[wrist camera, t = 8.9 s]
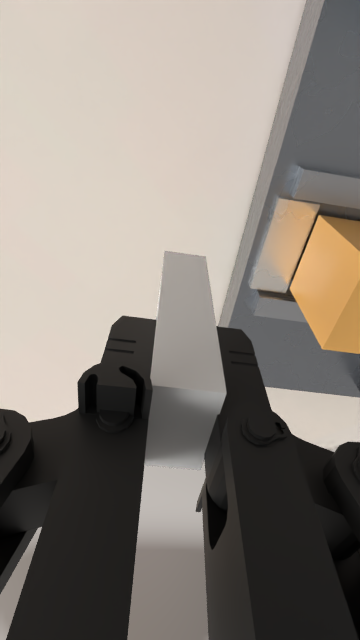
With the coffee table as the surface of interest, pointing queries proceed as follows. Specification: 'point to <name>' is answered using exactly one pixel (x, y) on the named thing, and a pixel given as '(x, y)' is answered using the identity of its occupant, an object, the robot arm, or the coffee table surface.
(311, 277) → the slider
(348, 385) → the panel
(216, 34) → the coffee table surface
